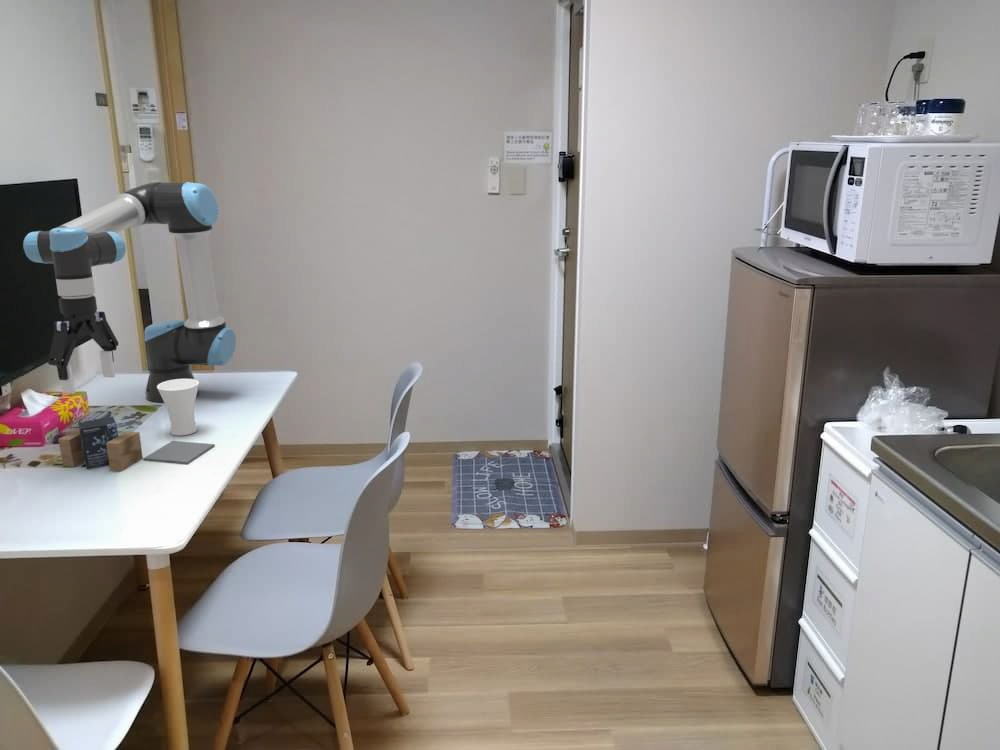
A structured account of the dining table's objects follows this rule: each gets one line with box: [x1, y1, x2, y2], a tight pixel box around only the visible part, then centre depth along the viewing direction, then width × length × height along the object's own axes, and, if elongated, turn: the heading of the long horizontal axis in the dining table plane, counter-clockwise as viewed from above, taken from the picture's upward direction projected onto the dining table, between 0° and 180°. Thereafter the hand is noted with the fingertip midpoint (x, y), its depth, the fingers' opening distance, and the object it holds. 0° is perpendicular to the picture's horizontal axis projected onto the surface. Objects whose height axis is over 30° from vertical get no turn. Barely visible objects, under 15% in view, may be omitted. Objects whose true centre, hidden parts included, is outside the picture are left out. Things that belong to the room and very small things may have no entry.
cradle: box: [57, 428, 144, 472], centre depth 187 cm, size 8×16×7 cm, turn 79°
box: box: [77, 416, 119, 470], centre depth 186 cm, size 8×6×11 cm
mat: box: [142, 440, 215, 465], centre depth 193 cm, size 12×12×1 cm
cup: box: [157, 378, 200, 436], centre depth 206 cm, size 10×10×14 cm
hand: (89, 384), depth 182 cm, fingers open, 13 cm apart
